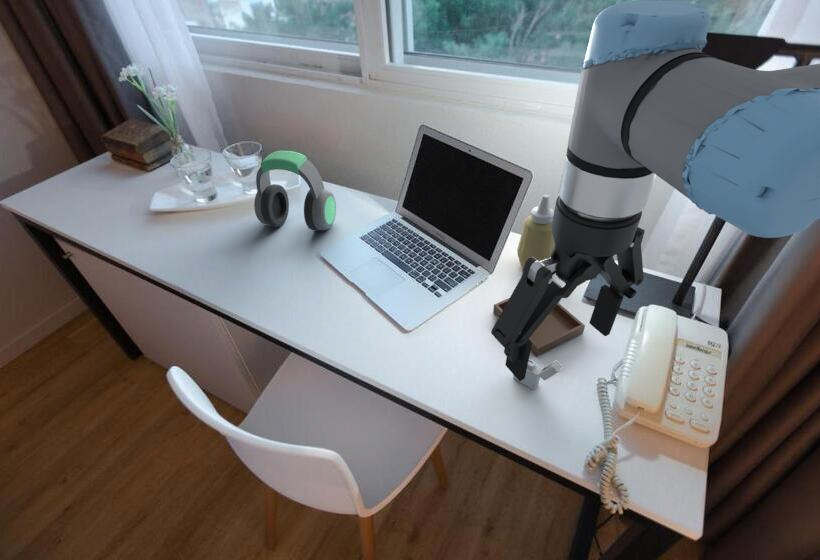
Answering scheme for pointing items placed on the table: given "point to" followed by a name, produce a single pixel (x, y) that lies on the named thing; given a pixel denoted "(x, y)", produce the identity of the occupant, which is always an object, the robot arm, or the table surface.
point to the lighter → (538, 373)
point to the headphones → (274, 197)
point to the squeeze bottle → (537, 233)
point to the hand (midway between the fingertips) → (558, 349)
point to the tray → (550, 328)
